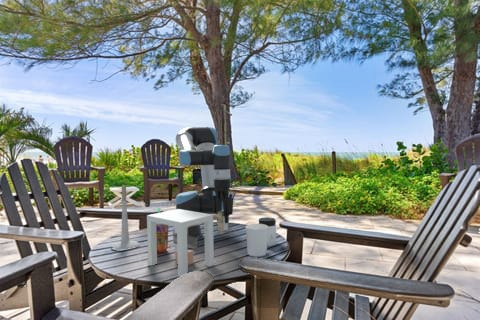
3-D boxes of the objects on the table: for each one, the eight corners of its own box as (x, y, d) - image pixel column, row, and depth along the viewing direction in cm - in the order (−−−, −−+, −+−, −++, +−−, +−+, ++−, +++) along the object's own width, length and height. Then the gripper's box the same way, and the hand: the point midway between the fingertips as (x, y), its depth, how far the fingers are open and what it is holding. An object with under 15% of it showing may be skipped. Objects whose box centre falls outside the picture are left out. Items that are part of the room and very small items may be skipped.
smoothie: (152, 255, 130) (151, 210, 130) (148, 250, 138) (147, 207, 137) (171, 252, 134) (170, 208, 134) (167, 247, 142) (166, 205, 141)
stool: (148, 265, 120) (146, 215, 119) (179, 254, 132) (178, 208, 132) (182, 278, 106) (181, 222, 106) (213, 264, 119) (212, 214, 118)
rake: (216, 229, 144) (215, 208, 143) (235, 233, 136) (235, 211, 136) (173, 243, 123) (172, 219, 123) (193, 248, 116) (193, 223, 116)
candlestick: (127, 241, 152) (125, 182, 151) (145, 245, 146) (143, 183, 145) (105, 248, 141) (103, 185, 140) (123, 253, 135) (121, 186, 134)
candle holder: (244, 250, 136) (244, 224, 136) (266, 249, 137) (265, 223, 136) (247, 257, 126) (246, 229, 126) (270, 256, 127) (269, 228, 127)
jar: (265, 247, 139) (265, 222, 139) (255, 243, 146) (254, 218, 146) (280, 244, 144) (279, 219, 144) (269, 240, 151) (269, 216, 150)
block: (175, 264, 120) (175, 251, 120) (185, 260, 124) (185, 248, 124) (184, 267, 117) (183, 254, 117) (193, 263, 121) (193, 251, 121)
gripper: (204, 178, 140) (205, 228, 140) (229, 180, 130) (230, 233, 131) (215, 177, 146) (216, 225, 146) (240, 178, 136) (241, 230, 137)
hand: (222, 229), depth 138 cm, fingers closed on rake, 2 cm apart
